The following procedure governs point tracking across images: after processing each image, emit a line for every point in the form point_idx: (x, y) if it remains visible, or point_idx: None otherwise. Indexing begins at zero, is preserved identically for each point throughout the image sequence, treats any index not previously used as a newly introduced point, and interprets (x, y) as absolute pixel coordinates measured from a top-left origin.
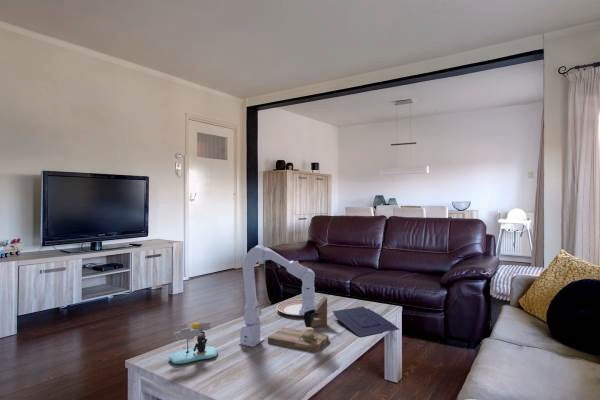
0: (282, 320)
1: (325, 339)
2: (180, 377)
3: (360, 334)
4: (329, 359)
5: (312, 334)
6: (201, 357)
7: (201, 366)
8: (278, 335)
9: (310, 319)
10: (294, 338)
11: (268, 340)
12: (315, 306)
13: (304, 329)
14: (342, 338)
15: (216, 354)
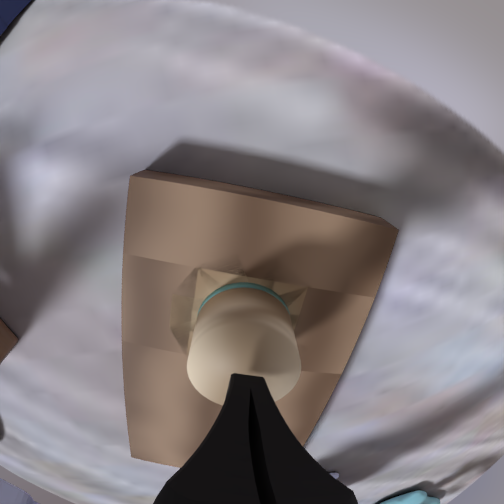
0: (25, 435)
1: (201, 185)
2: (485, 468)
3: (11, 2)
4: (456, 120)
5: (271, 311)
6: (427, 498)
7: (451, 477)
8: None
9: (300, 443)
10: None
11: None
12: (26, 500)
13: None
14: (71, 82)
15: (413, 493)
